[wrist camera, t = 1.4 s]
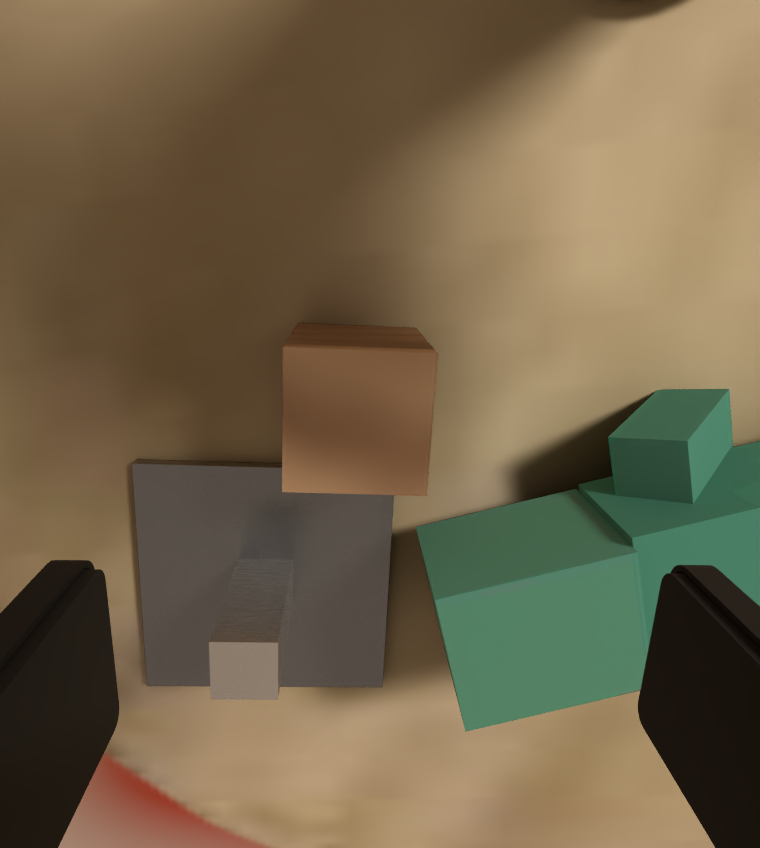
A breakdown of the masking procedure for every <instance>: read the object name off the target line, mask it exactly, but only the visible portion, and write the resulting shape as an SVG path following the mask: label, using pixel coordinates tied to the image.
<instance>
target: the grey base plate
mask: <svg viewBox="0 0 760 848" xmlns="http://www.w3.org/2000/svg"><path fill="white" fill-rule="evenodd" d="M132 473H133V488H134V502H135V517H136V531H137V546H138V561H139V575H140V590H141V604H142V619H143V633H144V648H145V663H146V677H147V686H210V689H211V699H253V700H278V696H279V690H280V687H382V685H383V668H384V651H385V635H386V618H387V601H388V584H389V568H390V551H391V534H392V517H393V501H394V495H374V494H335V493H296V492H282V463H248V462H213V461H178V460H144V459H136V460H135V461H134V462H133V463H132Z"/></svg>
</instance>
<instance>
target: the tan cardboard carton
mask: <svg viewBox="0 0 760 848" xmlns="http://www.w3.org/2000/svg"><path fill="white" fill-rule="evenodd" d="M437 355H438V353H437V352H436V351H435V350H434V349H433V347H432V346H431V345H430V344H429V343H428V342H427V340H426V339H425V338H424V337H423V336H422V334H421V333H420V332H419V331H418V330H417V329H416V328H406V327H383V326H359V325H336V324H313V323H298V325H297V326H296V328H295V329H294V331H293V332H292V334H291V335H290V337H289V338H288V340H287V341H286V343H285V344H284V346H283V387H282V492H296V493H335V494H374V495H413V496H427V486H428V473H429V460H430V447H431V434H432V420H433V407H434V394H435V381H436V368H437Z"/></svg>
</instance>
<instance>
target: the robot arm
mask: <svg viewBox="0 0 760 848" xmlns="http://www.w3.org/2000/svg"><path fill="white" fill-rule="evenodd" d="M638 713H639V718H640V721H641V724H642V726H643V728H644V730H645V731H646V733H647V735H648V736H649V738H650V740H651V741H652V743H653V745H654V746H655V748H656V750H657V751H658V753H659V755H660V756H661V758H662V760H663V761H664V763H665V765H666V766H667V768H668V770H669V771H670V773H671V775H672V776H673V778H674V780H675V781H676V783H677V785H678V786H679V788H680V790H681V791H682V793H683V795H684V796H685V798H686V800H687V801H688V803H689V805H690V806H691V808H692V809H693V811H694V813H695V814H696V816H697V818H698V819H699V821H700V823H701V824H702V826H703V828H704V829H705V831H706V833H707V834H708V836H709V838H710V839H711V841H712V843H713V844H714V846H715V848H760V606H759V605H758V604H756V603H755V602H754V601H753V600H752V599H751V598H750V597H749V596H748V595H746V594H745V593H744V592H743V591H742V590H741V589H740V588H739V587H737V586H736V585H735V584H734V583H733V582H732V581H731V580H730V579H728V578H727V577H726V576H725V575H724V574H723V573H722V572H721V571H719V570H718V569H717V568H716V567H714V566H712V565H677V566H675V567H674V568H673V569H672V571H671V573H667V574H665V575H664V576H663V578H662V581H661V585H660V590H659V595H658V601H657V606H656V611H655V616H654V622H653V627H652V632H651V637H650V643H649V648H648V653H647V658H646V664H645V669H644V674H643V679H642V685H641V690H640V695H639V700H638ZM118 715H119V700H118V691H117V682H116V672H115V663H114V654H113V645H112V636H111V626H110V617H109V608H108V599H107V590H106V580H105V575H104V573H103V571H102V570H94V566H93V564H92V563H91V562H90V561H86V560H53V561H50V562H49V563H48V564H47V565H46V566H45V567H44V568H43V569H42V570H41V571H40V572H39V573H38V574H37V575H36V576H35V577H34V578H33V579H32V580H31V581H30V583H29V584H28V585H27V586H26V587H25V588H24V589H23V590H22V591H21V592H20V593H19V594H18V595H17V596H16V597H15V598H14V600H13V601H12V602H11V603H10V604H9V605H8V606H7V607H6V608H5V609H4V610H3V611H2V612H1V613H0V848H58V846H59V844H60V842H61V840H62V838H63V836H64V834H65V832H66V830H67V828H68V826H69V824H70V822H71V820H72V818H73V815H74V813H75V811H76V809H77V807H78V805H79V803H80V801H81V799H82V797H83V795H84V793H85V791H86V789H87V786H88V785H89V782H90V780H91V778H92V776H93V774H94V772H95V770H96V768H97V766H98V764H99V762H100V760H101V758H102V756H103V754H104V751H105V749H106V747H107V745H108V743H109V741H110V739H111V737H112V735H113V733H114V730H115V728H116V725H117V721H118Z"/></svg>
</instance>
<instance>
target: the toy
mask: <svg viewBox="0 0 760 848" xmlns="http://www.w3.org/2000/svg"><path fill="white" fill-rule="evenodd" d="M608 442H609V450H610V457H611V465H612V473H613V476H611V477H607V478H603V479H598V480H594V481H590V482H586V483H582V484H578V486H579V491H578V490H577V489H573V490H569V491H564V492H560V493H556V494H552V495H548V496H543V497H539V498H535V499H531V500H527V501H522V502H518V503H514V504H510V505H506V506H501V507H497V508H493V509H489V510H485V511H480V512H476V513H472V514H468V515H464V516H459V517H455V518H451V519H447V520H443V521H438V522H434V523H430V524H426V525H422V526H417V527H416V530H417V535H418V539H419V543H420V547H421V552H422V556H423V560H424V564H425V568H426V573H427V577H428V581H429V585H430V590H431V594H432V598H433V602H434V607H435V611H436V615H437V619H438V624H439V628H440V632H441V636H442V640H443V644H444V648H445V652H446V656H447V660H448V664H449V668H450V672H451V676H452V680H453V683H454V687H455V691H456V695H457V699H458V703H459V707H460V711H461V715H462V719H463V723H464V727H465V731H470V730H474V729H479V728H483V727H487V726H491V725H496V724H500V723H504V722H508V721H513V720H517V719H521V718H525V717H530V716H534V715H538V714H542V713H547V712H551V711H555V710H559V709H564V708H568V707H572V706H576V705H581V704H585V703H589V702H593V701H598V700H602V699H606V698H610V697H615V696H619V695H623V694H627V693H632V692H636V691H640V690H641V685H642V679H643V674H644V669H645V664H646V658H647V653H648V648H649V643H650V637H651V632H652V627H653V622H654V616H655V611H656V606H657V601H658V595H659V590H660V585H661V581H662V578H663V576H664V575H665V574H667V573H671V571H672V569H673V568H674V567H675V566H677V565H712V566H714V567H716V568H717V569H718V570H719V571H721V572H722V573H723V574H724V575H725V576H726V577H727V578H728V579H730V580H731V581H732V582H733V583H734V584H735V585H736V586H737V587H739V588H740V589H741V590H742V591H743V592H744V593H745V594H746V595H748V596H749V597H750V598H751V599H752V600H753V601H754V602H755V603H756V604H758V605H759V606H760V441H758V442H754V443H750V444H745V445H741V446H737V447H733V440H732V425H731V410H730V394H729V389H671V390H658V391H656V392H655V393H654V394H653V395H652V396H651V397H650V398H648V399H647V400H646V401H645V402H644V403H643V404H642V405H641V406H640V407H639V408H638V409H637V410H636V411H635V412H634V413H633V414H632V415H631V416H630V417H629V418H628V419H626V420H625V421H624V422H623V423H622V424H621V425H620V426H619V427H618V428H617V429H616V430H615V431H614V432H613V433H612V434H611V435H610V436H609V437H608Z"/></svg>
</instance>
